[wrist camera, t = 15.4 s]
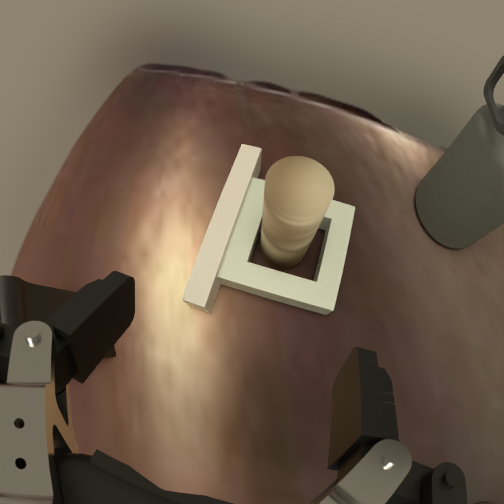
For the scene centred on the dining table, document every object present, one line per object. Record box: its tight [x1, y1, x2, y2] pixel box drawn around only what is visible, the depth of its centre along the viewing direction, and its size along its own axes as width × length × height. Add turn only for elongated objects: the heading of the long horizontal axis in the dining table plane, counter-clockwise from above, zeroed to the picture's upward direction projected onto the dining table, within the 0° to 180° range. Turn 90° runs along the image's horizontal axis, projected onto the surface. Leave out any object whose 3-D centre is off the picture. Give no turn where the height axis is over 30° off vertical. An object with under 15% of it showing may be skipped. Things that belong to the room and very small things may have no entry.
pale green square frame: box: [218, 178, 355, 315], centre depth 29 cm, size 10×10×3 cm
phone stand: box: [0, 275, 115, 358], centre depth 22 cm, size 9×6×12 cm, turn 105°
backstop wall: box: [182, 144, 262, 314], centre depth 29 cm, size 2×16×4 cm, turn 163°
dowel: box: [260, 156, 334, 270], centre depth 25 cm, size 4×4×12 cm
